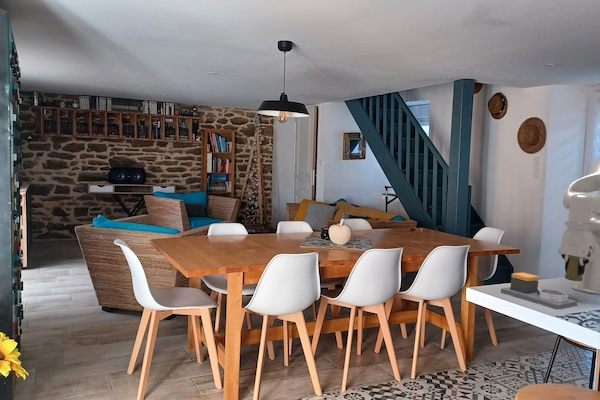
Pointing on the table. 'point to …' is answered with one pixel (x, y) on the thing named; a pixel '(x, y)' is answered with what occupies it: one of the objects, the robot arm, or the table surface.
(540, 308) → the table surface
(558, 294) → the ring
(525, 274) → the button
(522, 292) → the grey base plate
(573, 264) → the cork
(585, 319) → the table surface
